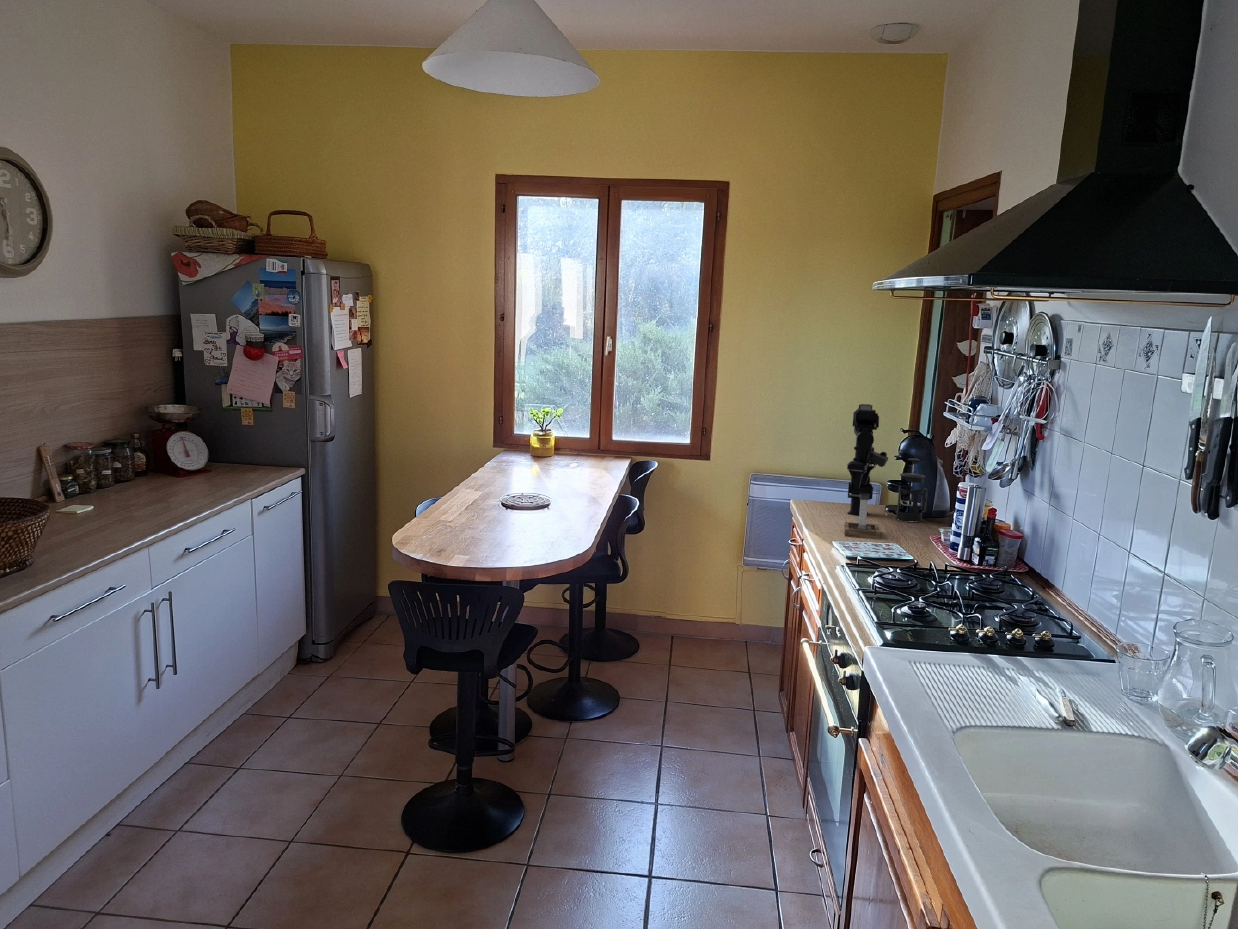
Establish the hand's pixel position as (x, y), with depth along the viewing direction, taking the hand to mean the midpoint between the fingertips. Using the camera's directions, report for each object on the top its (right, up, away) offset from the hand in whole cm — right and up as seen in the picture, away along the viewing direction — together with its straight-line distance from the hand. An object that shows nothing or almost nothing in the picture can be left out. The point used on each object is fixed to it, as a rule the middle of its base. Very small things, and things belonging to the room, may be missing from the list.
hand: (860, 486), depth 315 cm
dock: (-4, -16, -16) cm, 23 cm away
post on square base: (-4, -15, -16) cm, 22 cm away
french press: (+21, -13, +8) cm, 26 cm away
